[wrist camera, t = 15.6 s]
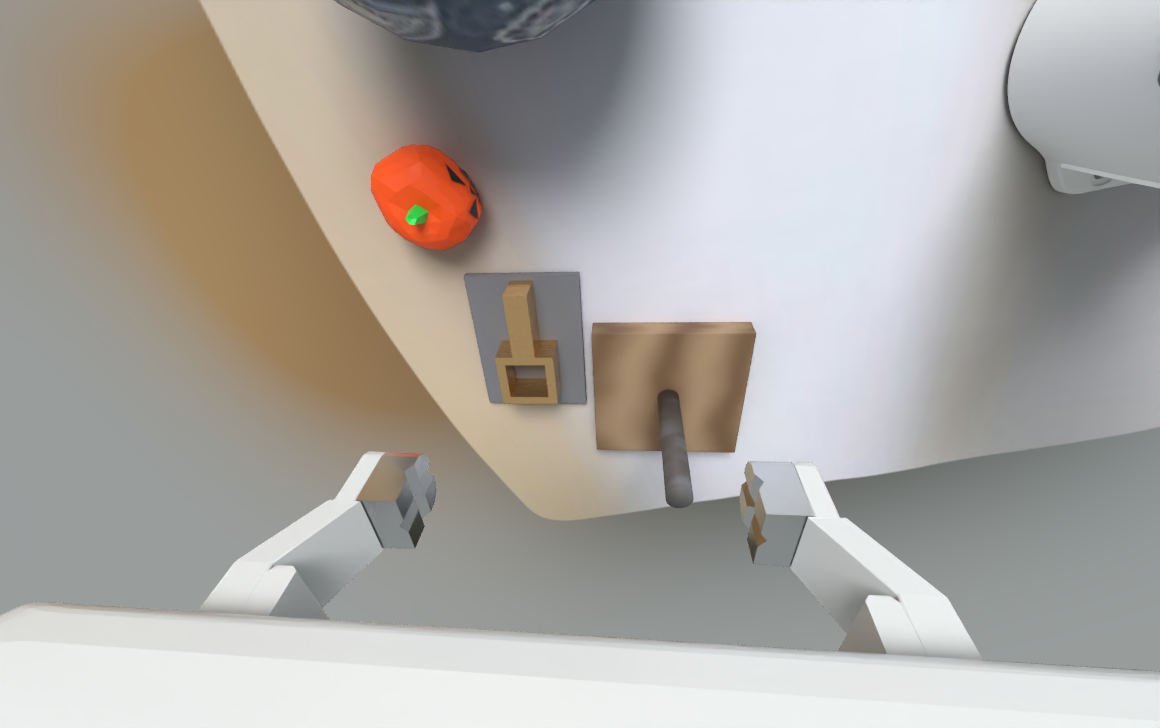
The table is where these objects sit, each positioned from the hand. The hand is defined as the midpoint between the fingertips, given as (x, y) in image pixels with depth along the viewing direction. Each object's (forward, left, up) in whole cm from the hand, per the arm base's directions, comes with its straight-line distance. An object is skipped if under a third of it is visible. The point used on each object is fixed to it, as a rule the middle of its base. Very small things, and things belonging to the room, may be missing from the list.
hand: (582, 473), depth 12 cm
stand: (-5, +19, -29) cm, 35 cm away
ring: (+8, +13, -28) cm, 32 cm away
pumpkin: (+14, 0, -29) cm, 33 cm away
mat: (+8, +14, -29) cm, 33 cm away
